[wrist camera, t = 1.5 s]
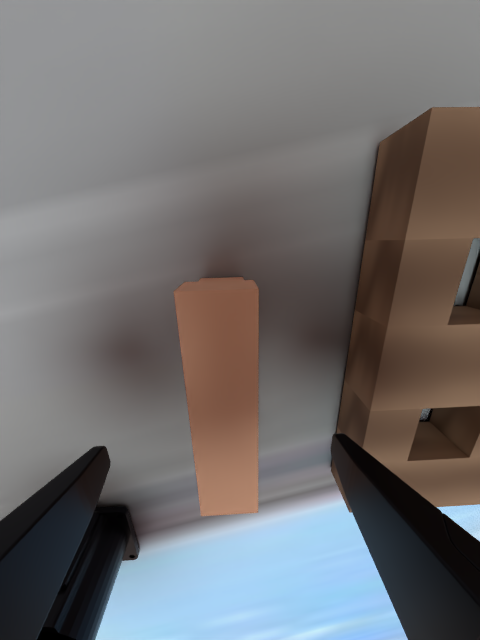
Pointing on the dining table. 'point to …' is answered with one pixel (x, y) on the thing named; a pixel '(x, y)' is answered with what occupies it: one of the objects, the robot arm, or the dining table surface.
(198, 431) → the tall terracotta pillar
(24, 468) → the dining table surface
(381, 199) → the brown slotted board
